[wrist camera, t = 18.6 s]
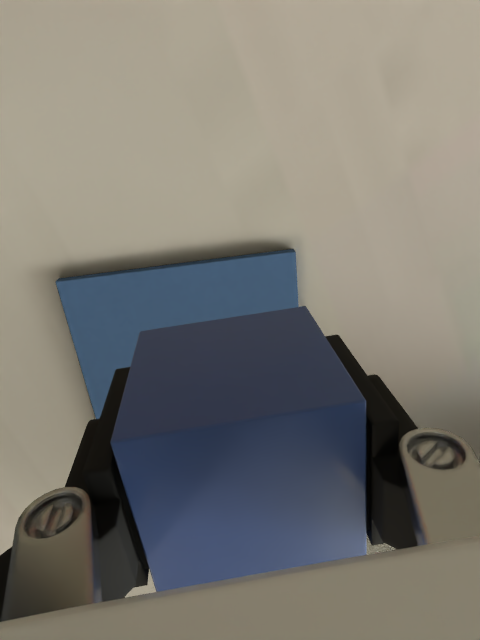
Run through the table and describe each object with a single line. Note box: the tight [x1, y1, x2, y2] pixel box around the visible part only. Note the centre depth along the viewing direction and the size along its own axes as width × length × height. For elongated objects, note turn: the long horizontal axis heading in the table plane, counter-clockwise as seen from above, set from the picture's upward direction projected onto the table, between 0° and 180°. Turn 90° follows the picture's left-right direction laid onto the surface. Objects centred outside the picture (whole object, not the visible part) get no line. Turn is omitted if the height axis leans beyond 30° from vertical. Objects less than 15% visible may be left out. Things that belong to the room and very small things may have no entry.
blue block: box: [110, 306, 366, 592], centre depth 10 cm, size 4×4×4 cm
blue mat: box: [56, 249, 298, 419], centre depth 28 cm, size 14×12×1 cm
